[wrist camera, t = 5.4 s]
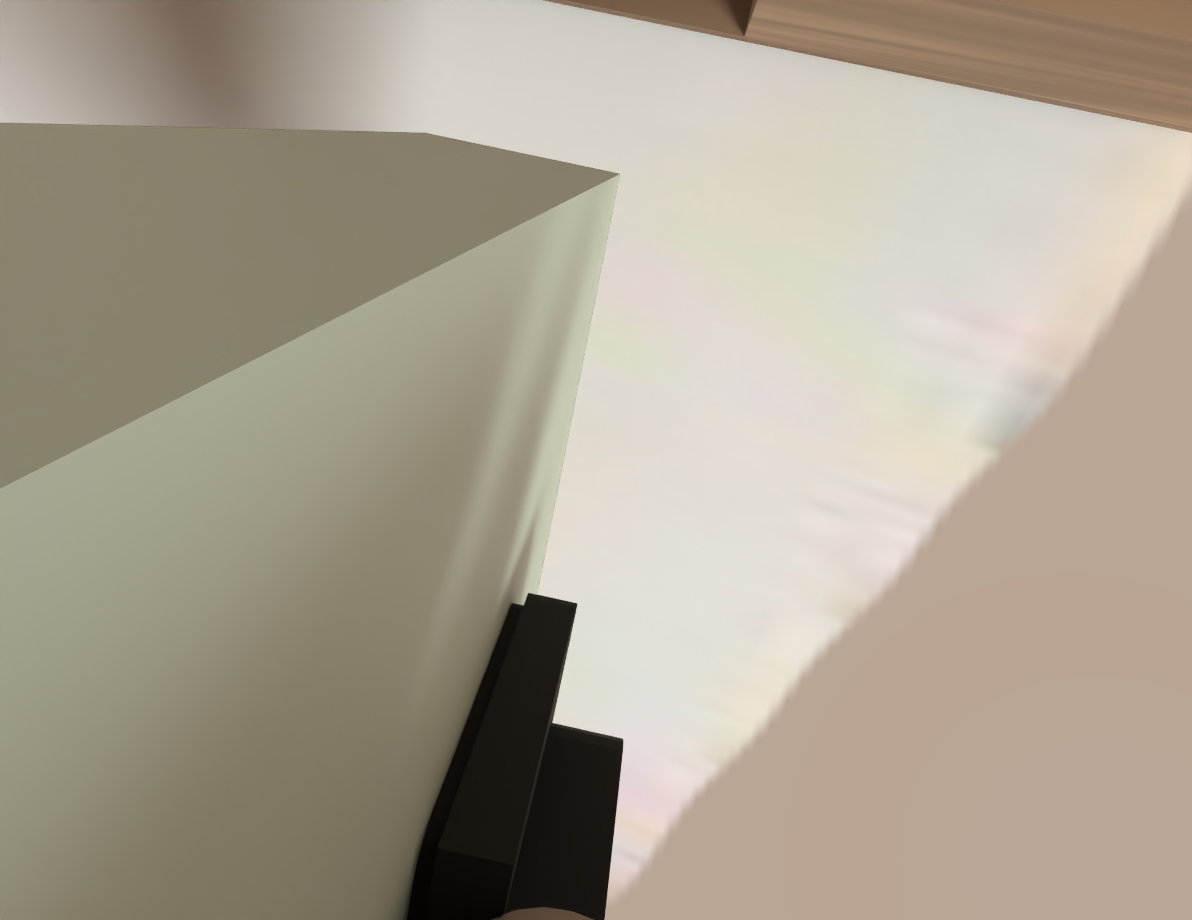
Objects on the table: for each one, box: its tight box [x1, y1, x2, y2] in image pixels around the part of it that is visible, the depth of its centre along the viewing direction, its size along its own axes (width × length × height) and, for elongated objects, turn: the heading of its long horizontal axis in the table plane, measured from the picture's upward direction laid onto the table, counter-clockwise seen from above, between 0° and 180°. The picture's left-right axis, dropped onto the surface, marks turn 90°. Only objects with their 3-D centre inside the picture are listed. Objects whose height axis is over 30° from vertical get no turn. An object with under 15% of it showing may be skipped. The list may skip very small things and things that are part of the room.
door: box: [0, 123, 620, 920], centre depth 8 cm, size 11×3×12 cm, turn 169°
